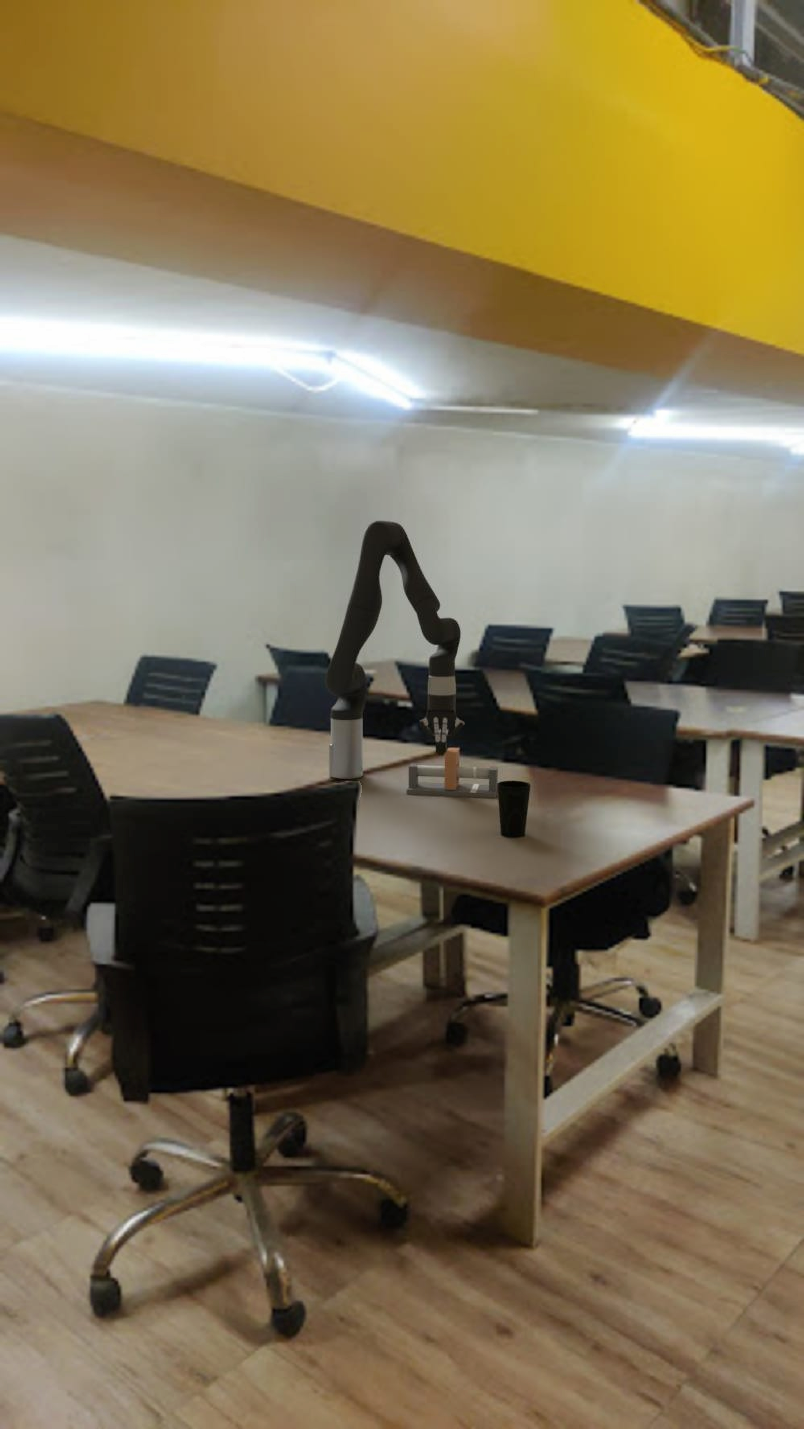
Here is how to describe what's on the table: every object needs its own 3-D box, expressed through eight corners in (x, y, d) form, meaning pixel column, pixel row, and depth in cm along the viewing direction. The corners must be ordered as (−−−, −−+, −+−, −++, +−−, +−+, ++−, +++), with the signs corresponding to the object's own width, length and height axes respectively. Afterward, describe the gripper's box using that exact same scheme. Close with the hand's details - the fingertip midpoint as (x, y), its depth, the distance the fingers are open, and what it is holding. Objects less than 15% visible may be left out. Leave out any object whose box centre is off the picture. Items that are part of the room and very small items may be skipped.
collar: (444, 789, 277) (444, 753, 275) (448, 782, 285) (448, 747, 283) (455, 789, 276) (456, 753, 275) (459, 783, 284) (459, 747, 282)
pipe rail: (406, 794, 278) (406, 768, 277) (412, 785, 288) (412, 761, 286) (495, 797, 274) (495, 771, 273) (498, 789, 283) (498, 764, 282)
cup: (493, 830, 242) (494, 780, 240) (525, 829, 243) (526, 780, 241) (499, 839, 234) (500, 788, 233) (532, 838, 235) (533, 787, 233)
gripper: (415, 693, 274) (415, 756, 277) (464, 694, 272) (463, 758, 275) (419, 689, 282) (419, 751, 284) (467, 691, 279) (466, 753, 282)
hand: (441, 755), depth 279 cm, fingers closed
